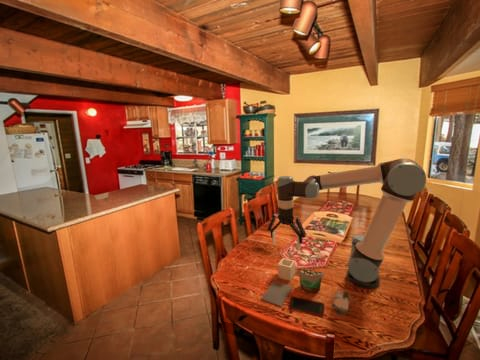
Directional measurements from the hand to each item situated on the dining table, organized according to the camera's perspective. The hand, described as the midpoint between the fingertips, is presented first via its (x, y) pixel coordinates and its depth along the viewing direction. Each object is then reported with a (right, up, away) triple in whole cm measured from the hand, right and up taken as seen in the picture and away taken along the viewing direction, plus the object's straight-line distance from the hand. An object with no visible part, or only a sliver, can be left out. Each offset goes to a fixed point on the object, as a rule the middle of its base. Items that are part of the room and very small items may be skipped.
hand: (286, 245), depth 123 cm
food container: (+10, -20, -9) cm, 24 cm away
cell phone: (+5, -22, -18) cm, 29 cm away
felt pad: (-6, -20, -9) cm, 23 cm away
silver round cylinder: (+20, -21, -21) cm, 36 cm away
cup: (+1, -17, +4) cm, 18 cm away
